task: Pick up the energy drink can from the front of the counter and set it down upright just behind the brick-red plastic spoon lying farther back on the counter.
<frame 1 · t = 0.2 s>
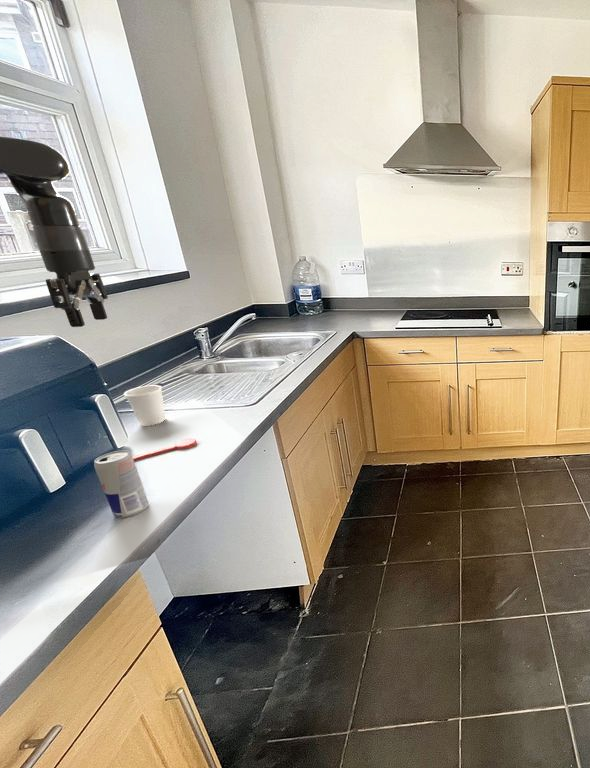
hand: (90, 322, 95), 33 cm above the table, tool pointing down, fingers open, 8 cm apart
spoon: (163, 451, 104), on the table
energy drink: (132, 510, 82), on the table
dixie cup: (153, 422, 121), on the table
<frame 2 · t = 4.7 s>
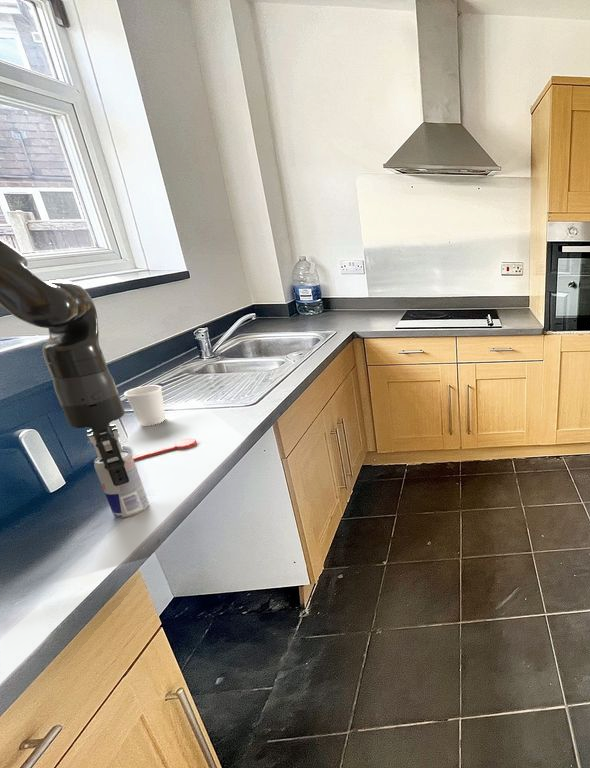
hand: (120, 477, 80), 7 cm above the table, tool pointing down, fingers closed on energy drink, 5 cm apart
energy drink: (132, 510, 82), on the table, touching gripper
everything else where it was.
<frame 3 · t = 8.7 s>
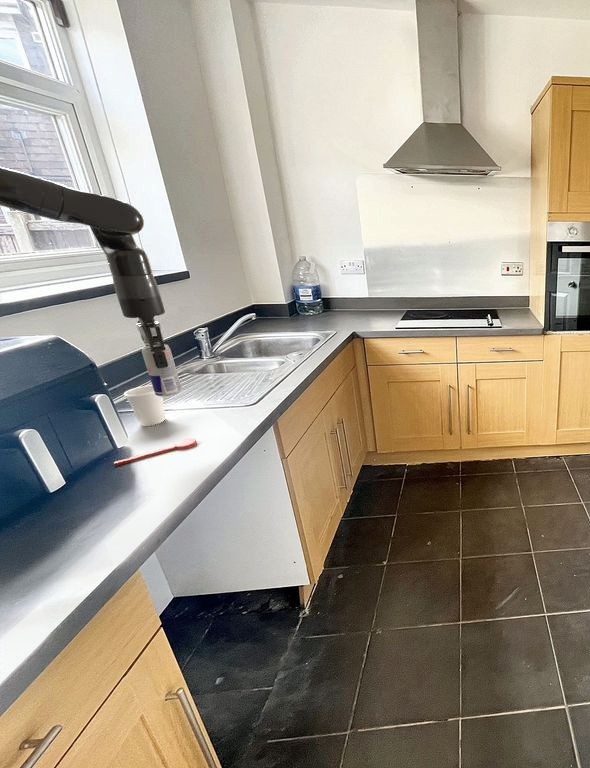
hand: (160, 364, 101), 22 cm above the table, tool pointing down, fingers closed on energy drink, 5 cm apart
energy drink: (169, 393, 104), point 14 cm above the table, touching gripper
everything else where it was.
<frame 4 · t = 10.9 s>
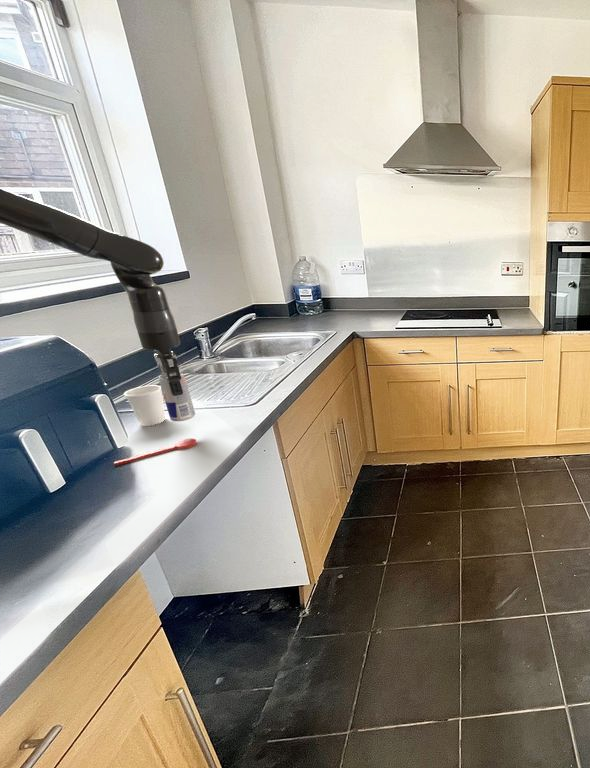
hand: (175, 391, 108), 13 cm above the table, tool pointing down, fingers closed on energy drink, 5 cm apart
energy drink: (183, 418, 111), point 5 cm above the table, touching gripper
everything else where it was.
when the fingers open (7 cm above the table, at t = 12.6 s): energy drink stays where it is, on the table.
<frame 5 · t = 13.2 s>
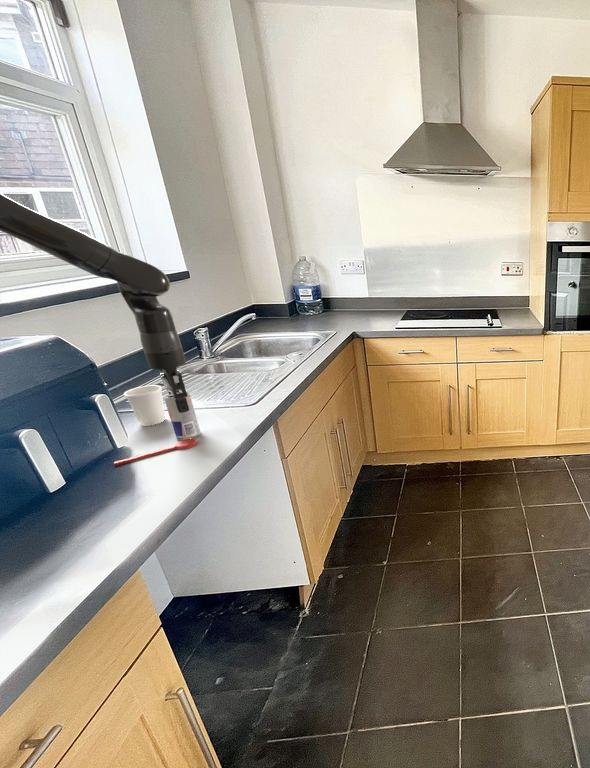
hand: (180, 407, 110), 8 cm above the table, tool pointing down, fingers open, 8 cm apart
energy drink: (189, 436, 113), on the table
everything else where it was.
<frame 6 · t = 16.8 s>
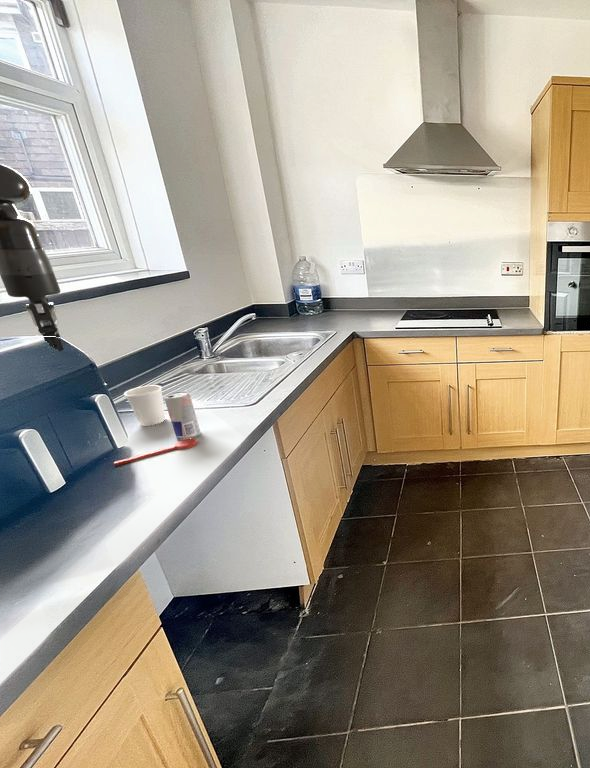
hand: (56, 347, 91), 28 cm above the table, tool pointing down, fingers open, 8 cm apart
nothing on the table moved.
at the end: energy drink inside the target area on the table beside the spoon (0.3 cm from its centre), on the table; energy drink tilted 0°; the gripper is holding nothing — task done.
